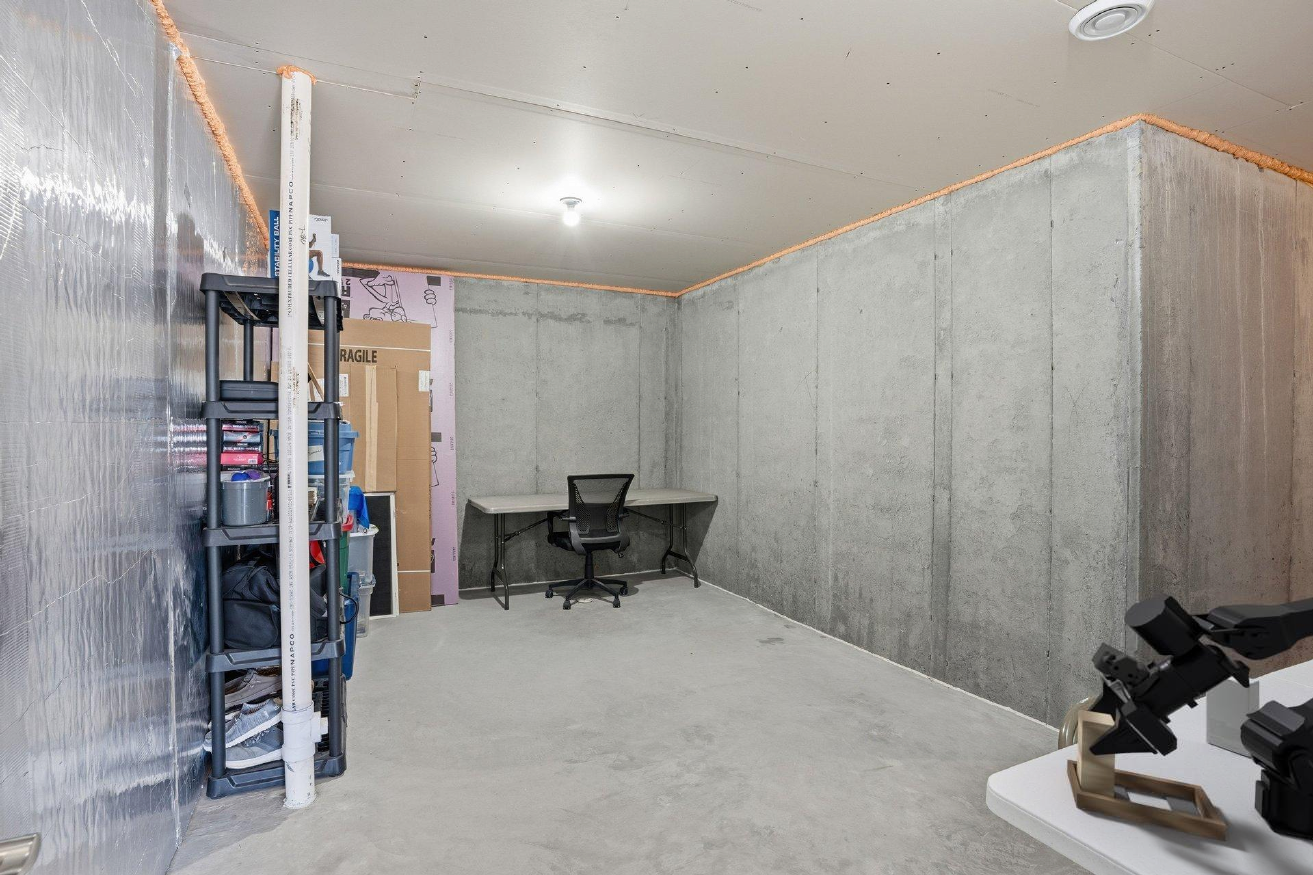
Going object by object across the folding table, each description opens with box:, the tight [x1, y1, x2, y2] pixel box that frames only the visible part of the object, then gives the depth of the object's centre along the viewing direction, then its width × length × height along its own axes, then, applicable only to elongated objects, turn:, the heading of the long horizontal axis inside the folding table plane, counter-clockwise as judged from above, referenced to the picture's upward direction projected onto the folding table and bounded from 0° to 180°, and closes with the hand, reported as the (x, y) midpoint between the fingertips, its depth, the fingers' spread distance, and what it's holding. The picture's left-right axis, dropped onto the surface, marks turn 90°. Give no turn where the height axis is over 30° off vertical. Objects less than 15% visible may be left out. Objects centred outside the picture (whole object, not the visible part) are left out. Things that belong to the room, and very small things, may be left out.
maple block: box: [1076, 709, 1116, 798], centre depth 96 cm, size 4×4×11 cm
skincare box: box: [1205, 677, 1260, 758], centre depth 111 cm, size 6×4×12 cm
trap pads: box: [1114, 784, 1202, 817], centre depth 93 cm, size 10×8×1 cm
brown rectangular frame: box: [1066, 759, 1227, 842], centre depth 94 cm, size 16×10×2 cm, turn 64°
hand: (1086, 737), depth 97 cm, fingers open, 9 cm apart
